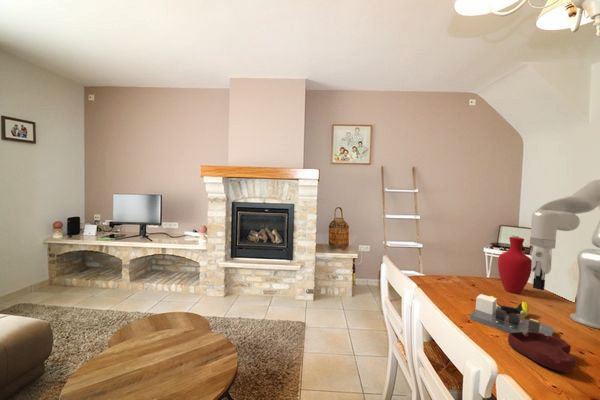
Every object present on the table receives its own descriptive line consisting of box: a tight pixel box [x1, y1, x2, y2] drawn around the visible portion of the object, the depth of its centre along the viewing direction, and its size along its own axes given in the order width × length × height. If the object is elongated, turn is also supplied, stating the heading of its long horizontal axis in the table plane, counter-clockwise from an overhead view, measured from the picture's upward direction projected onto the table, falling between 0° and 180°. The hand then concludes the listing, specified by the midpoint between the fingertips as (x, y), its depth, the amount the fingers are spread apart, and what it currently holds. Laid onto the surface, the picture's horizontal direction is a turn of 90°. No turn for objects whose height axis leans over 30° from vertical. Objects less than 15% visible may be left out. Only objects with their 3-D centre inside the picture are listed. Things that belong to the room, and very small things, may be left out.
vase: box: [497, 236, 532, 295], centre depth 150 cm, size 15×15×30 cm
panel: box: [469, 309, 555, 337], centre depth 112 cm, size 25×15×6 cm, turn 42°
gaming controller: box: [490, 295, 530, 319], centre depth 123 cm, size 15×6×10 cm
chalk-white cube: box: [475, 293, 498, 314], centre depth 121 cm, size 6×6×6 cm
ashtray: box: [507, 332, 576, 374], centre depth 92 cm, size 18×16×5 cm
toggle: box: [528, 317, 541, 332], centre depth 105 cm, size 3×3×4 cm
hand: (538, 288), depth 108 cm, fingers closed
